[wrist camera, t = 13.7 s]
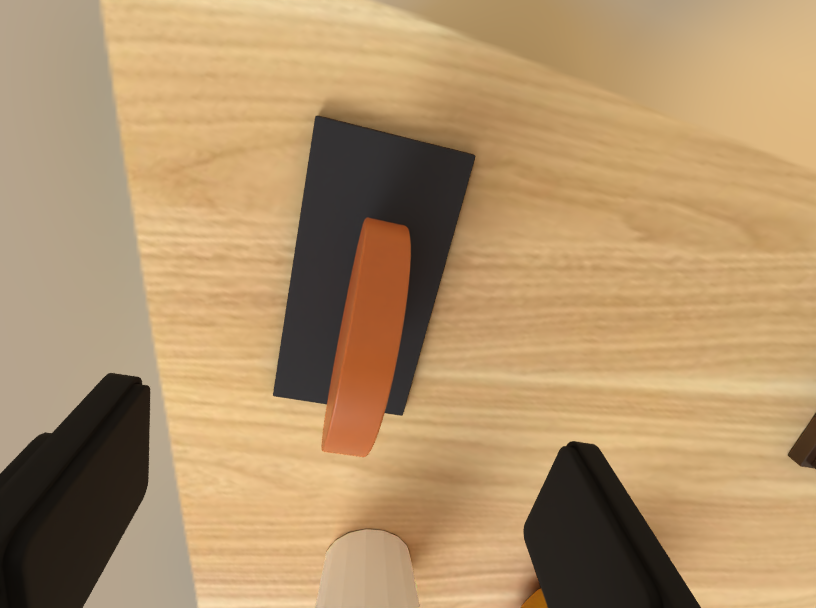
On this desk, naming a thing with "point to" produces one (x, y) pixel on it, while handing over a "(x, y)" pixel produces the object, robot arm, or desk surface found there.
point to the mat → (338, 239)
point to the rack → (806, 447)
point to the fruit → (535, 600)
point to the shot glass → (367, 573)
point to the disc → (368, 339)
